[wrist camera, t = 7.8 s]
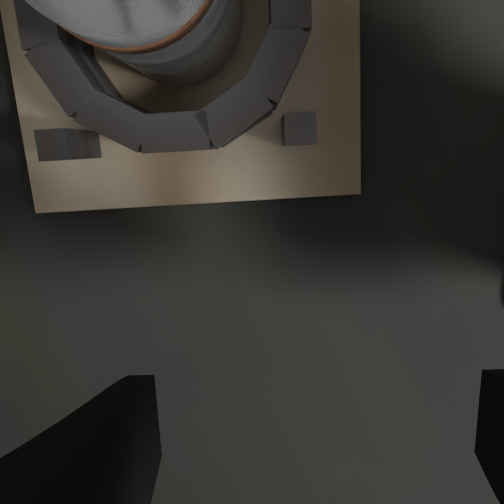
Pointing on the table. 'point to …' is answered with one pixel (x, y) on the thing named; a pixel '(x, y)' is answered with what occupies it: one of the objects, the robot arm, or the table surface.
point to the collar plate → (192, 114)
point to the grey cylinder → (155, 33)
